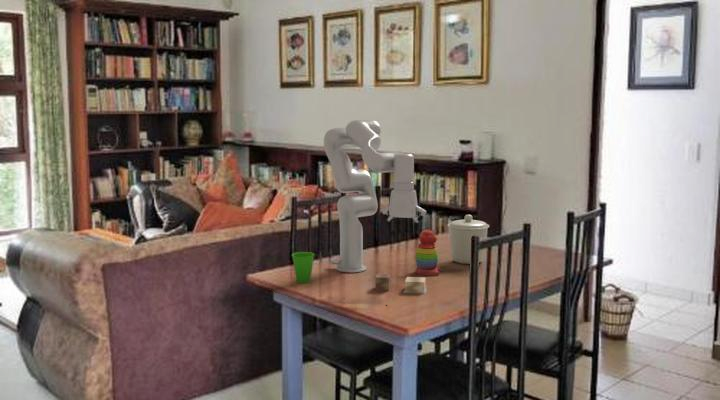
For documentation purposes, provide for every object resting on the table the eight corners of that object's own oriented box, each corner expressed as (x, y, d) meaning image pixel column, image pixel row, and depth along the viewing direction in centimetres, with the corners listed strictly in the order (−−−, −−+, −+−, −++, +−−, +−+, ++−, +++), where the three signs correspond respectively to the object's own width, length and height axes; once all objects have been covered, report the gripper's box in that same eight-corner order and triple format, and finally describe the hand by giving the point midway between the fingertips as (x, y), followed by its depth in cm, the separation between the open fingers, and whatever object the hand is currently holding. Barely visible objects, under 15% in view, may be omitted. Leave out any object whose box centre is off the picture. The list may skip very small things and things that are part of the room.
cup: (297, 285, 271) (296, 257, 270) (288, 280, 279) (288, 253, 278) (318, 283, 276) (318, 255, 274) (309, 277, 284) (309, 251, 282)
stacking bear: (438, 276, 286) (439, 232, 283) (413, 275, 288) (414, 232, 285) (440, 269, 296) (441, 228, 294) (416, 268, 298) (417, 227, 296)
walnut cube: (375, 290, 260) (375, 277, 259) (377, 286, 265) (377, 273, 264) (388, 291, 259) (388, 277, 258) (390, 287, 264) (390, 274, 263)
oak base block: (404, 292, 257) (405, 281, 257) (406, 287, 264) (406, 276, 263) (424, 293, 256) (424, 282, 255) (425, 288, 263) (425, 277, 262)
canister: (460, 268, 299) (461, 219, 296) (439, 259, 316) (440, 213, 313) (496, 264, 306) (497, 216, 303) (473, 255, 323) (474, 210, 320)
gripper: (378, 187, 263) (378, 232, 265) (423, 188, 257) (423, 235, 259) (385, 185, 270) (385, 229, 272) (428, 186, 264) (428, 231, 266)
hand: (403, 232), depth 266 cm, fingers open, 9 cm apart
